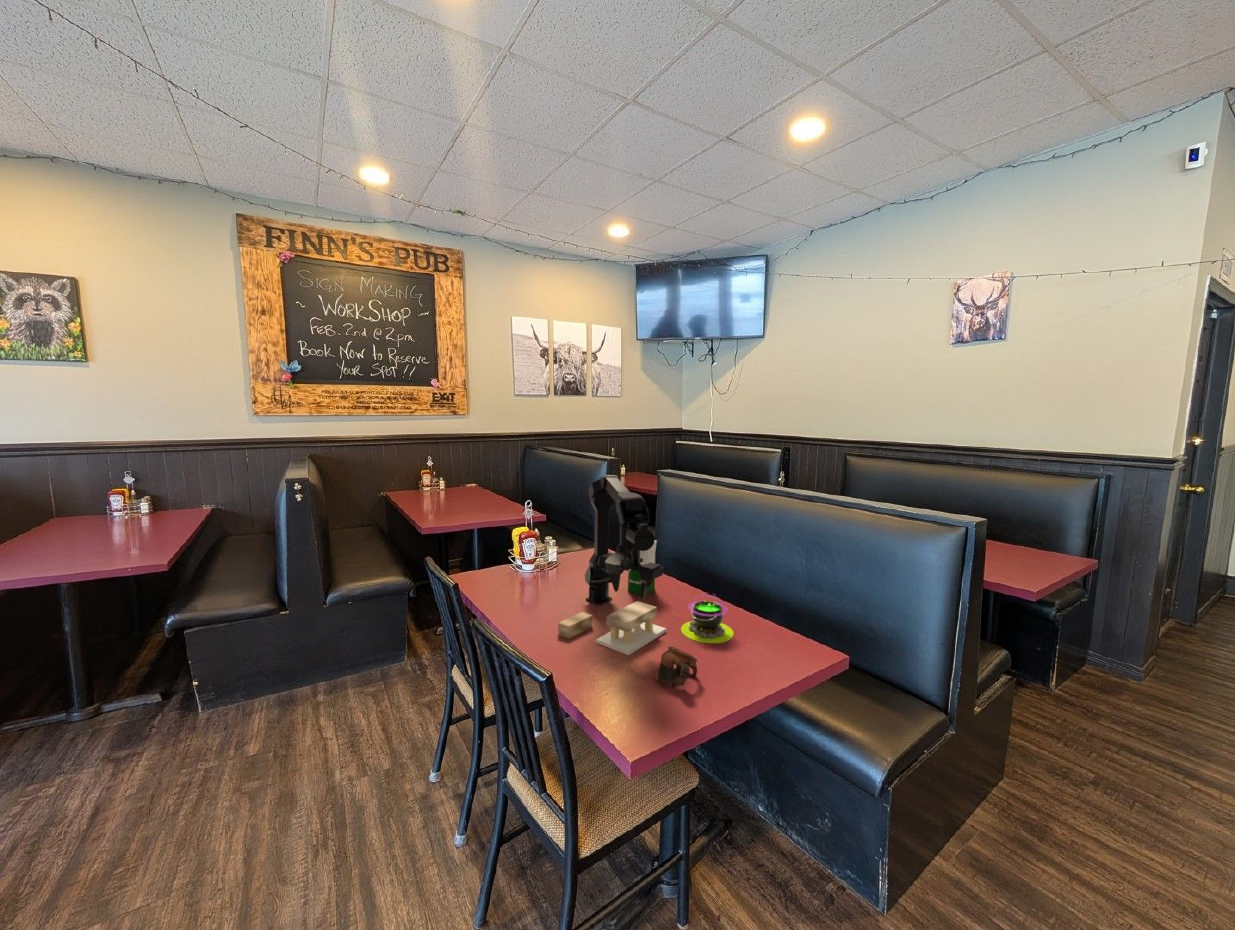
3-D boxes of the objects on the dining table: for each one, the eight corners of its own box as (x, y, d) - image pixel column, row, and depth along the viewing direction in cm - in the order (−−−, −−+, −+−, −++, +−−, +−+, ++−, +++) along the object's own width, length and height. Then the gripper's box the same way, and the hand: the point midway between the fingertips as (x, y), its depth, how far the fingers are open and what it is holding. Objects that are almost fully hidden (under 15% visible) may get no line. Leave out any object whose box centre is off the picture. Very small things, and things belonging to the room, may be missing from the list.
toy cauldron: (671, 625, 150) (672, 589, 149) (715, 617, 155) (716, 583, 154) (697, 647, 136) (698, 608, 135) (744, 638, 142) (745, 600, 140)
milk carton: (624, 592, 176) (624, 536, 174) (637, 584, 183) (638, 530, 181) (646, 597, 171) (647, 540, 169) (658, 589, 179) (659, 534, 177)
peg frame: (635, 621, 152) (635, 605, 151) (666, 631, 145) (666, 615, 145) (596, 642, 138) (596, 625, 137) (628, 655, 131) (628, 636, 130)
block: (582, 623, 150) (582, 611, 150) (592, 626, 148) (592, 615, 148) (558, 634, 143) (558, 622, 142) (568, 638, 140) (568, 626, 140)
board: (636, 609, 148) (636, 601, 148) (656, 615, 144) (656, 607, 144) (606, 624, 138) (606, 616, 137) (626, 632, 133) (626, 623, 133)
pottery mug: (647, 674, 123) (660, 641, 125) (681, 688, 124) (693, 655, 126) (664, 687, 111) (677, 651, 113) (701, 703, 113) (714, 666, 115)
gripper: (585, 540, 139) (585, 595, 141) (640, 553, 127) (639, 613, 129) (610, 533, 147) (610, 584, 149) (664, 544, 136) (663, 600, 138)
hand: (629, 595), depth 141 cm, fingers open, 9 cm apart
